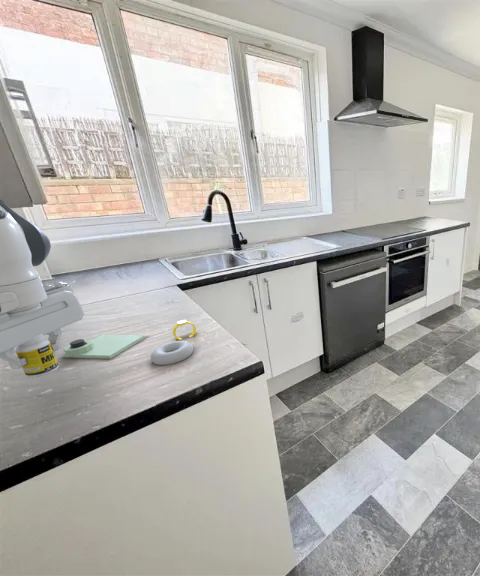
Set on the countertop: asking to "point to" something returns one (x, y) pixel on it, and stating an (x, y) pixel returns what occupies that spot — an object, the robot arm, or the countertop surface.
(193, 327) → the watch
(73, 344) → the button
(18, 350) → the supplement bottle
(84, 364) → the countertop surface
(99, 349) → the scale
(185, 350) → the donut
